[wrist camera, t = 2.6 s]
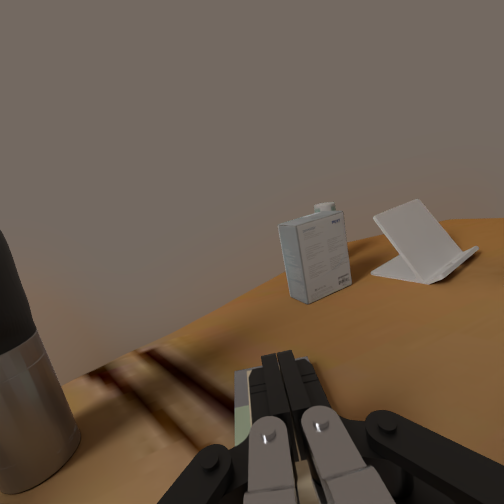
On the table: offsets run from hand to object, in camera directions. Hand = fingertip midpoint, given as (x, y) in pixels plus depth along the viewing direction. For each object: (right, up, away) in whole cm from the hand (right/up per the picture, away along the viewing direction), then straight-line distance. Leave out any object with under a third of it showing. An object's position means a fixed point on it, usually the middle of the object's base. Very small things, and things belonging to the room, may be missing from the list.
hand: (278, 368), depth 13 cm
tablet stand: (+47, +2, +63) cm, 79 cm away
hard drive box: (+17, -5, +59) cm, 62 cm away
